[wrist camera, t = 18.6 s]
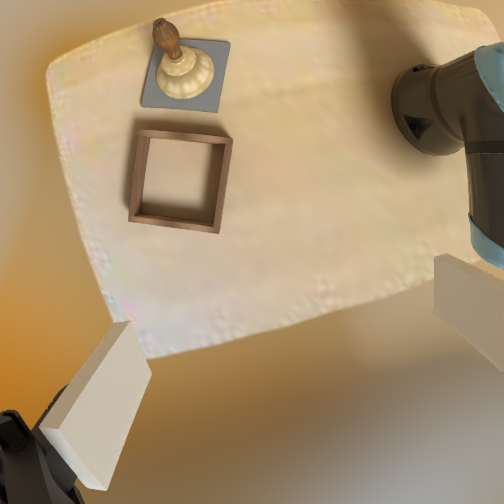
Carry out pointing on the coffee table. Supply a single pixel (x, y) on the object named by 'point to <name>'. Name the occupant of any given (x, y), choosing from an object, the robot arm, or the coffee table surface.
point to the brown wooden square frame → (140, 176)
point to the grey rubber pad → (202, 102)
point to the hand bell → (180, 64)
